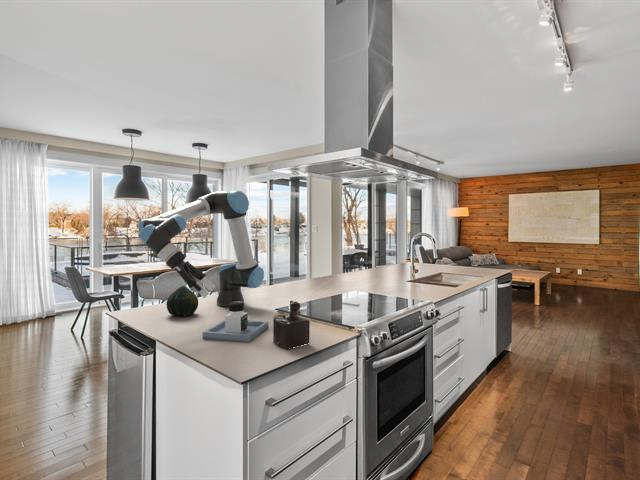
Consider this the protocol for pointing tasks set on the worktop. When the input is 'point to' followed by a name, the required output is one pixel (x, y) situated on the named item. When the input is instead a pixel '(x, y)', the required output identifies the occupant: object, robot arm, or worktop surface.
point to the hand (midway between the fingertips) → (210, 292)
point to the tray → (246, 336)
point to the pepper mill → (291, 328)
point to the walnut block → (278, 316)
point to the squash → (182, 302)
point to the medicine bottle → (236, 318)
